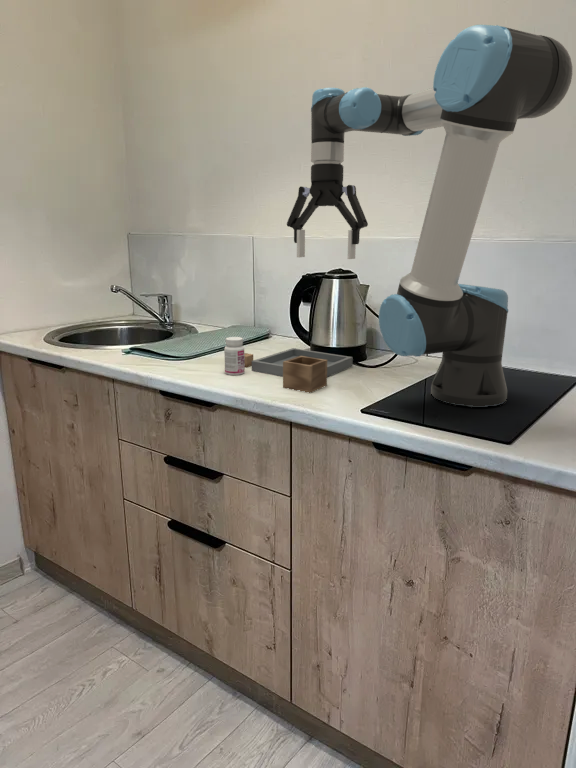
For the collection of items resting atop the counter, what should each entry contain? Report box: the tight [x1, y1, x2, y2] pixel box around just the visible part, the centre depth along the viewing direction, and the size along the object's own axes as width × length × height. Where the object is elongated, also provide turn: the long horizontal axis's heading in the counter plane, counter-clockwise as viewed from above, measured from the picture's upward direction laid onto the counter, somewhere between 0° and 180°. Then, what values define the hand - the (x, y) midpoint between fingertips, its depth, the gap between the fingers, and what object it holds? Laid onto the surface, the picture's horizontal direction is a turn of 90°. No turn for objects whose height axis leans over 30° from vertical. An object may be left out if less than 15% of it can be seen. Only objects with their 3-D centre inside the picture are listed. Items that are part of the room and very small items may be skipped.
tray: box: [251, 347, 354, 378], centre depth 141 cm, size 18×18×2 cm
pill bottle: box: [223, 336, 246, 376], centre depth 136 cm, size 5×5×8 cm
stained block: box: [244, 352, 254, 369], centre depth 145 cm, size 6×3×3 cm, turn 60°
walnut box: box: [282, 356, 328, 394], centre depth 126 cm, size 7×7×6 cm
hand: (325, 258), depth 138 cm, fingers open, 13 cm apart
